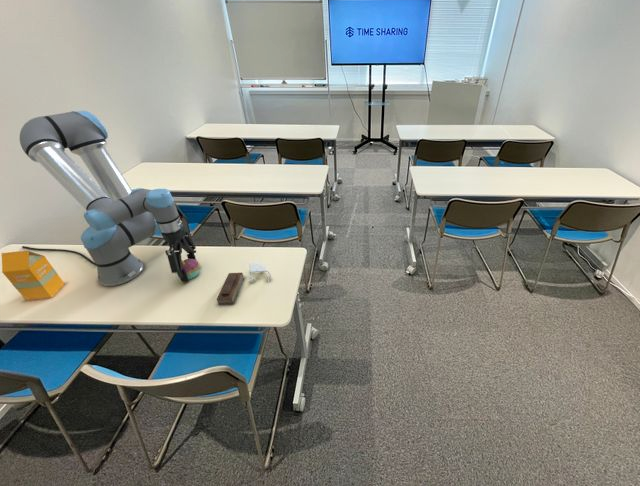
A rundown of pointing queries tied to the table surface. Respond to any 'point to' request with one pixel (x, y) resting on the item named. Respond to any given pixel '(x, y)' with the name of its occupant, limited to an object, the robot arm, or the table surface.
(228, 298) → the brown rectangular panel
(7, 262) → the orange juice
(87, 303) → the table surface
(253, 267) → the origami figure
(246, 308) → the table surface
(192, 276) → the cupcake
